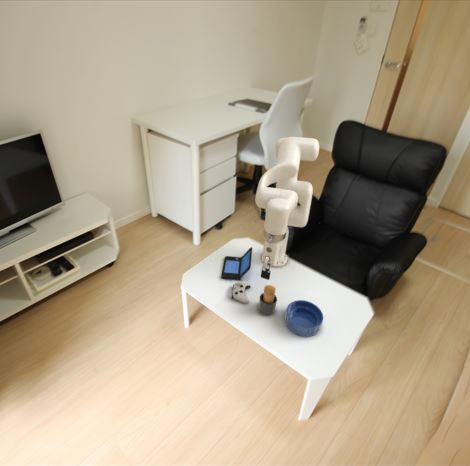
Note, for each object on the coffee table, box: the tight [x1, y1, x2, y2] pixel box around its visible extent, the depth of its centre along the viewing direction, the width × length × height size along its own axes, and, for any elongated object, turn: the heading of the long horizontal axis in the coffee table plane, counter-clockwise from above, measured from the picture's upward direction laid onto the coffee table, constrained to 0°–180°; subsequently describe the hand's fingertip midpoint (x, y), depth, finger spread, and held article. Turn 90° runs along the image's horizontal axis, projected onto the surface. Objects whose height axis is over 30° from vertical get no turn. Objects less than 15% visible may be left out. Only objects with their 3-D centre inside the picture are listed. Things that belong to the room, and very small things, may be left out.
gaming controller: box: [231, 281, 251, 305], centre depth 139 cm, size 11×6×7 cm
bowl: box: [284, 299, 324, 338], centre depth 126 cm, size 14×14×6 cm
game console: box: [220, 246, 253, 282], centre depth 150 cm, size 16×13×9 cm
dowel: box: [263, 284, 276, 304], centre depth 129 cm, size 4×4×12 cm
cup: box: [258, 292, 278, 316], centre depth 131 cm, size 7×7×7 cm
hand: (269, 269), depth 118 cm, fingers open, 9 cm apart
